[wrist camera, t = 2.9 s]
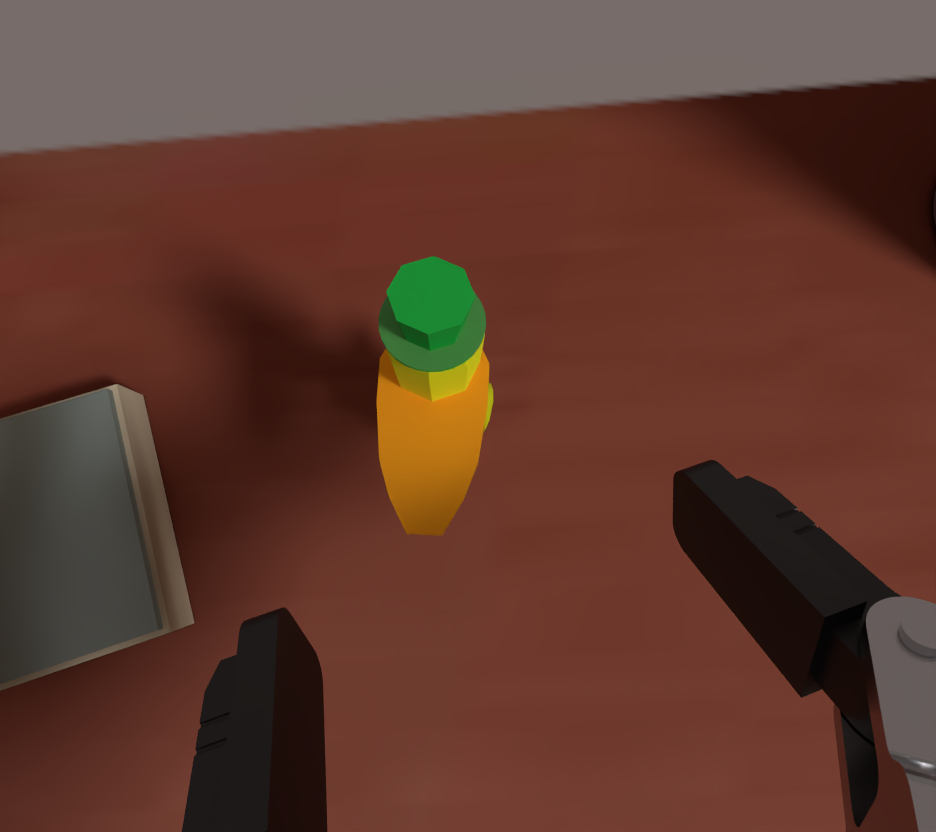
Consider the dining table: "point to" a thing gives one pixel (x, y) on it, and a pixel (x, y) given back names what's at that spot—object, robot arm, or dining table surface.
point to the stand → (83, 535)
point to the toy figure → (431, 392)
